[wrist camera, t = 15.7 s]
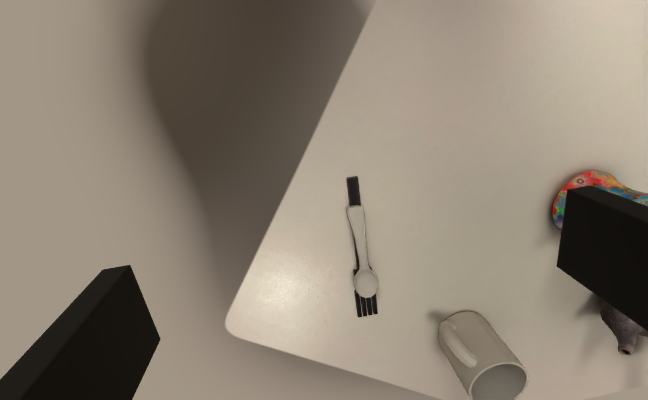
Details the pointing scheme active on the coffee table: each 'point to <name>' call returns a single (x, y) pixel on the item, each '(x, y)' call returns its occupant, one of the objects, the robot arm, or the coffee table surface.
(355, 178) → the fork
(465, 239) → the coffee table surface
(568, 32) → the coffee table surface
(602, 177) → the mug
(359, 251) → the spoon
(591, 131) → the coffee table surface
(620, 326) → the teapot
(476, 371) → the cup
